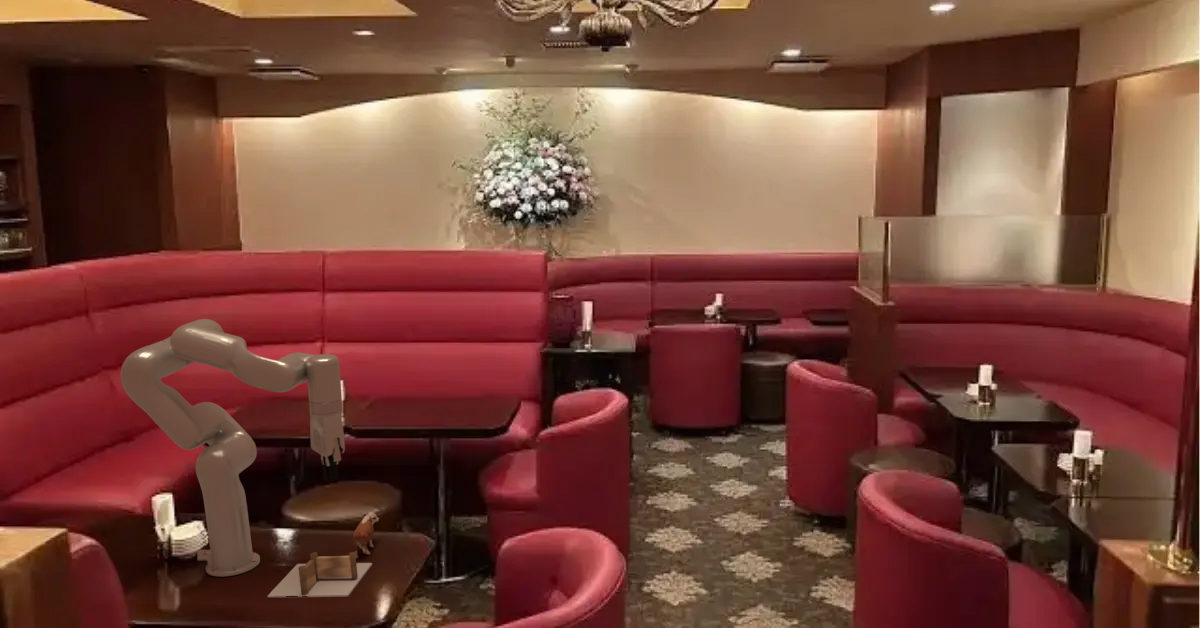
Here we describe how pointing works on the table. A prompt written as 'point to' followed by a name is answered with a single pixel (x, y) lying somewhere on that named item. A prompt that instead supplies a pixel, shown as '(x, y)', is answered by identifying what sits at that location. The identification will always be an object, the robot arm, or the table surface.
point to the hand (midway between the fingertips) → (331, 479)
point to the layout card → (319, 584)
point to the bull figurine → (364, 533)
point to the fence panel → (335, 566)
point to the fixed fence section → (307, 577)
